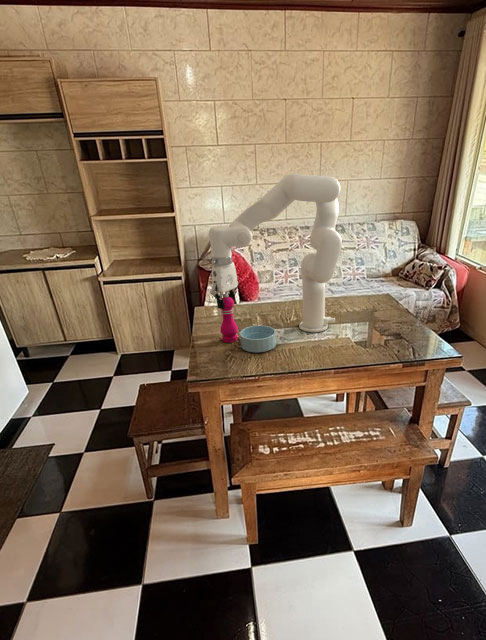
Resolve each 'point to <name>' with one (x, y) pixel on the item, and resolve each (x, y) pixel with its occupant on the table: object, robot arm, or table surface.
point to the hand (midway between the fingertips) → (226, 305)
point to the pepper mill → (228, 321)
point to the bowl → (258, 338)
